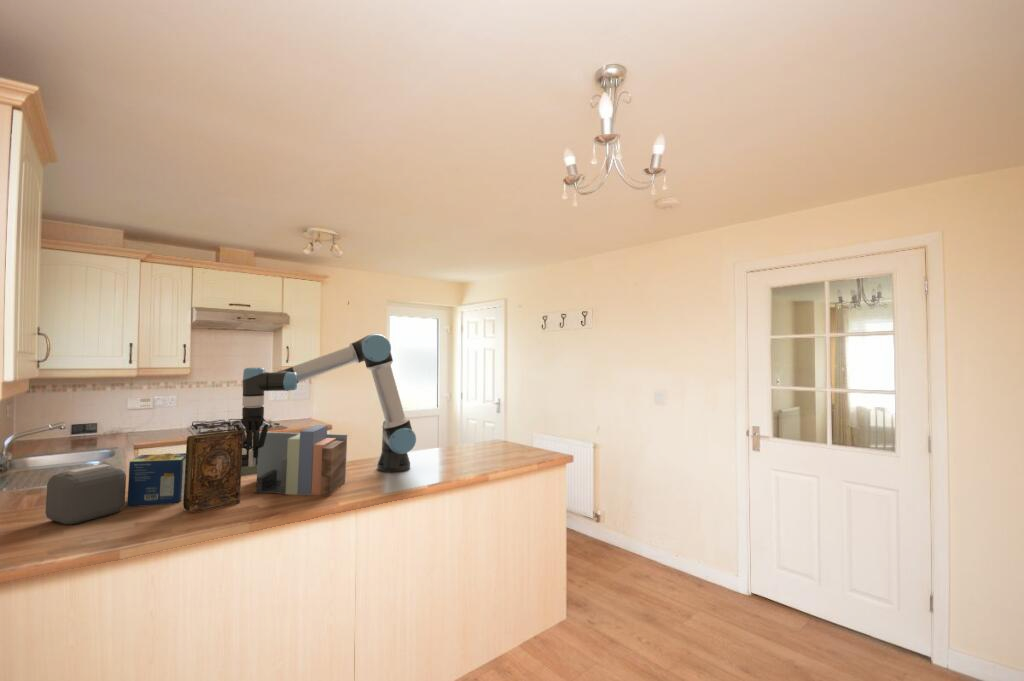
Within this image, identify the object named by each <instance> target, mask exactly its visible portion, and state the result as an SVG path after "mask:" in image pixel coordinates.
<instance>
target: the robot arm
mask: <svg viewBox="0 0 1024 681" xmlns="http://www.w3.org/2000/svg"><path fill="white" fill-rule="evenodd" d="M393 361H394V360H393V356H392V346H391V342H390V340H389V339H388V338H387V337H386V336H384V335H383V334H380V333H372V334H369V335H366V336H364V337H362V338H360V339H358V340H356V341H354V342H352V343H350V344H349V346H347V347H344V348H341V349H338V350H335V351H332V352H329V353H327V354H324V355H321V356H318V357H316V358H313V359H311V360H307V361H303V362H301V363H299V364H296V365H293V366H291V367H288V368H284V369H281V370H278V371H274V372H272V371H271V372H267V371H265V367H262V366H261V367H257V366H256V367H254V366H253V367H252V366H251V367H245V368H244V369H243V373H242V402H241V404H242V405H241V406H242V408H241V409H242V412H241V414H242V415H241V416H242V418H241V421H240V422H239V423H236V424H235V425H234V427H235V429H236V431H242V432H243V444H242V449H245V450H246V458H247V459H248V467H249V468H250V467H251V468H252V467H255V466H257V459H258V449H259V448H261V447H263V446H264V442H265V438H266V435H267V432H268V431H269V429H270V427H271V423H267V422H266V421H265V417H264V416H265V407H264V405H265V392H278V391H281V392H283V391H284V392H285V391H286V392H289V391H296V390H297V389H298V383H301V382H303V381H304V382H305V381H307V380H310V379H312V378H315V377H317V376H320V375H323V374H327V373H329V372H331V371H334V370H337V369H340V368H343V367H344V366H347V365H350V364H352V363H353V364H354V363H356V364H359V363H361V362H364V363H365V367H366V369H368V370H369V371H371V375H372V378H373V382H374V385H375V389H376V392H377V397H378V400H379V403H380V406H381V411H382V414H383V416H384V421H383V422H382V425H381V426H382V427H381V428H382V433H381V434H382V438H381V439H382V440H381V453H380V456H379V458H378V461H377V466H376V469H377V471H380V472H384V473H398V472H399V473H400V472H406V471H408V470H410V469H411V461H410V458H409V454H408V453H409V452H411V451H412V450H413V449H414V447H415V445H416V443H417V436H416V433H415V431H414V430H413V428H412V424H411V420H410V418H409V417H407V416H405V412H404V408H403V404H402V400H401V398H400V395H399V390H398V386H397V382H396V379H395V376H394V373H393V369H392V366H391V365H392V363H394V362H393ZM261 428H262V429H261ZM260 431H261V435H260V439H259V432H260Z"/></svg>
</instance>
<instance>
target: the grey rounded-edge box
mask: <svg viewBox="0 0 1024 681" xmlns="http://www.w3.org/2000/svg"><path fill="white" fill-rule="evenodd" d="M126 484H127V475H126V472H125V471H124V470H122V469H121V468H115V467H112V466H111V465H110V464H105V463H104V464H98V465H91V466H87V467H81V468H76V469H70V470H68V471H64V472H58V473H56V474H54V475H52V476H51V477H50V478H48V481H47V484H46V497H45V516H46V519H49V520H50V521H53V522H57V523H60V524H64V525H76V524H80V523H83V522H87V521H91V520H94V519H97V518H101V517H105V516H109V515H112V514H116V513H118V512H121V510H122V509H124V506H125V503H126V486H127V485H126Z"/></svg>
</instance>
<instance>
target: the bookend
mask: <svg viewBox="0 0 1024 681" xmlns="http://www.w3.org/2000/svg"><path fill="white" fill-rule="evenodd" d="M286 468H287V457H286V458H284V459H282V476H281V480H277V470H271V471H269V472H267V473H265V474H264V475H262V476H260V477H258V478H257V477H256V490H255V492H254V494H255V493H256V494H257V493H258V494H259V493H261V494H265V493H267V494H281V495H286V494H285V491H286Z"/></svg>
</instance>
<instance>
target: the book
mask: <svg viewBox="0 0 1024 681" xmlns="http://www.w3.org/2000/svg"><path fill="white" fill-rule="evenodd" d="M186 438H187V439H186V447H185V448H186V449H185V453H186V464H185V482H184V499H183V500H182V501H183V503H182V505H183V507H182V508H183V510H188V512H189V513H190V514H196V513H200V512H206V511H211V510H214V509H219V508H223V507H228V506H232V505H236V504H237V505H238V504H240V503H241V484H242V483H241V482H242V464H243V462H242V461H243V460H242V459H243V448H242V444H243V432H242V431H238V430H230V431H223V432H222V431H221V432H213V433H206V434H205V433H204V434H195V435H188V436H187V437H186Z"/></svg>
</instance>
